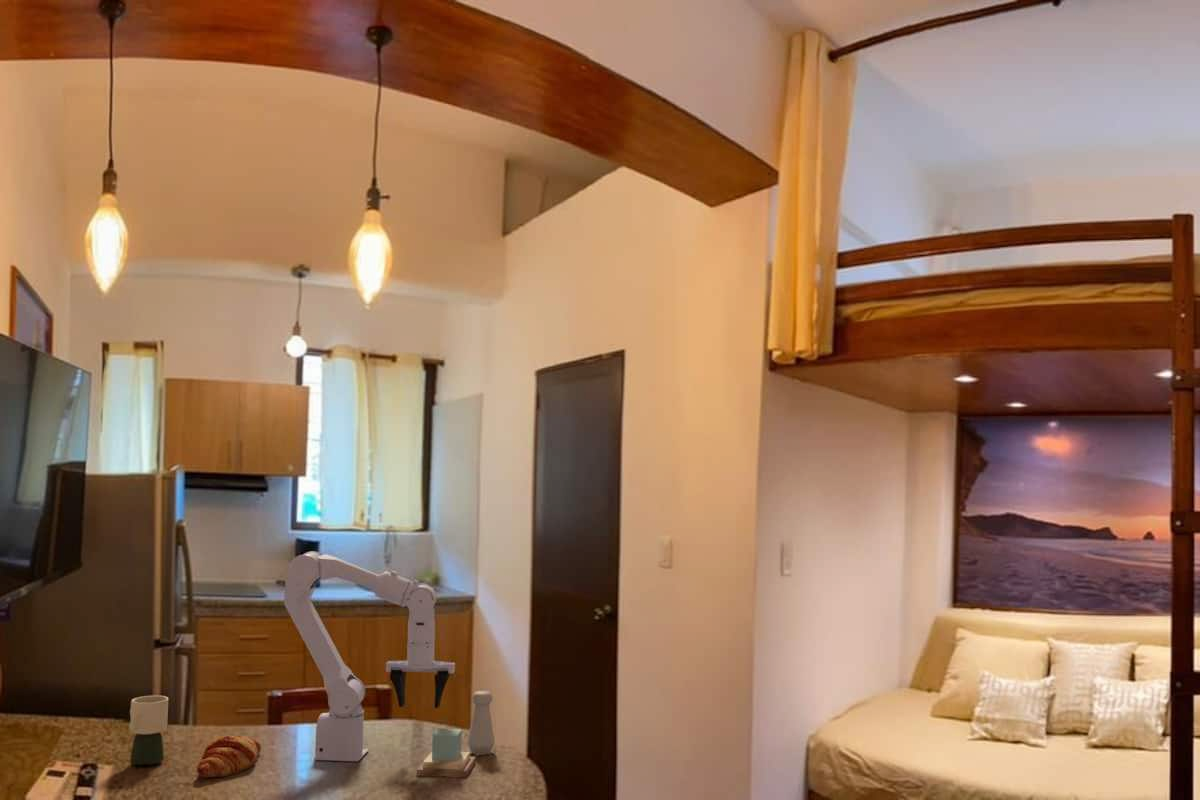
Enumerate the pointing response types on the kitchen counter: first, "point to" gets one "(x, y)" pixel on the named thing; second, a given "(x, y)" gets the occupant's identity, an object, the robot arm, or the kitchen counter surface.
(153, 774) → the kitchen counter surface
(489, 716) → the salt shaker
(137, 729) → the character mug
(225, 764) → the croissant
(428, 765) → the wooden base
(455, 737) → the teal block
